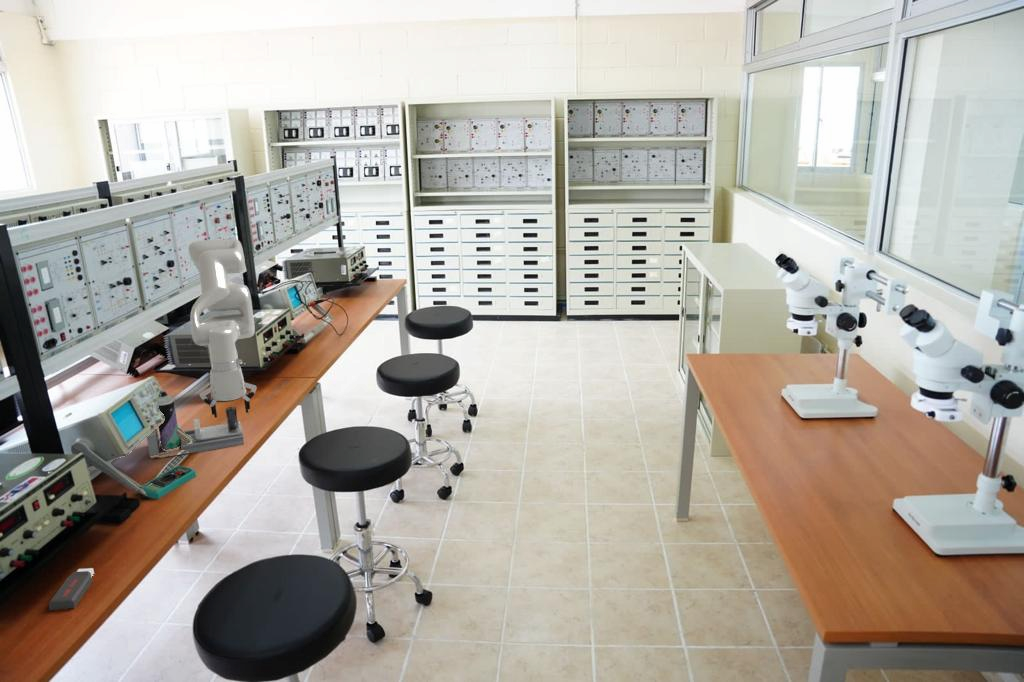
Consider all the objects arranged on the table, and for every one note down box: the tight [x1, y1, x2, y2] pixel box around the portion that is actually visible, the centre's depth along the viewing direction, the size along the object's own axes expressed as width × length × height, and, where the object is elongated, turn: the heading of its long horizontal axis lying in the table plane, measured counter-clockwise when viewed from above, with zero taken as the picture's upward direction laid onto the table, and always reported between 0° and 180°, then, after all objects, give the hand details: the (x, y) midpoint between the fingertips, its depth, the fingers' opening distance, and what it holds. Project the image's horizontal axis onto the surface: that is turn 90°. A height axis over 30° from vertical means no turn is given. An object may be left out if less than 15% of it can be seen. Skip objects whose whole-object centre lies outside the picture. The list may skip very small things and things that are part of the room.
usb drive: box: [48, 567, 95, 611], centre depth 156 cm, size 5×12×3 cm, turn 7°
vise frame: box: [146, 427, 245, 458], centre depth 223 cm, size 12×28×8 cm, turn 115°
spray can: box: [156, 390, 181, 450], centre depth 218 cm, size 6×6×20 cm
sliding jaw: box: [193, 406, 244, 443], centre depth 225 cm, size 8×14×9 cm, turn 115°
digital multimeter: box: [140, 465, 197, 500], centre depth 200 cm, size 7×15×3 cm, turn 158°
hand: (231, 413), depth 225 cm, fingers open, 9 cm apart
